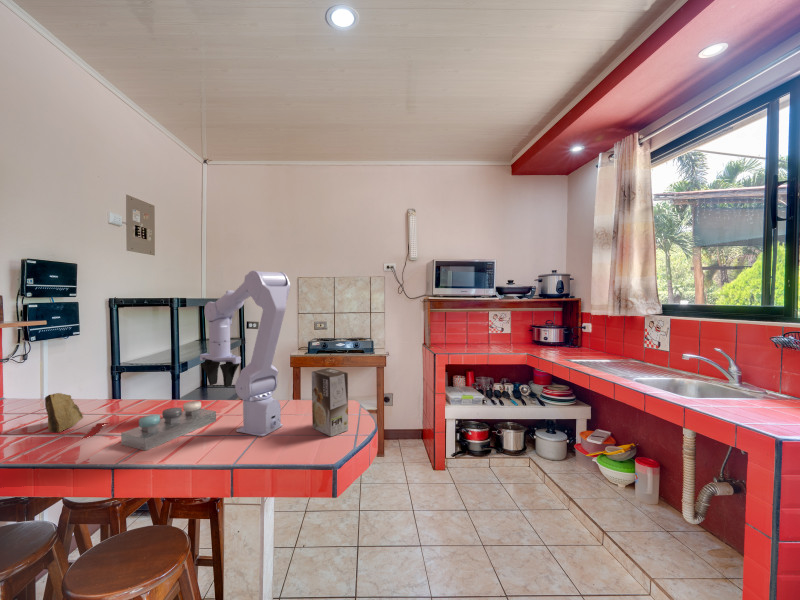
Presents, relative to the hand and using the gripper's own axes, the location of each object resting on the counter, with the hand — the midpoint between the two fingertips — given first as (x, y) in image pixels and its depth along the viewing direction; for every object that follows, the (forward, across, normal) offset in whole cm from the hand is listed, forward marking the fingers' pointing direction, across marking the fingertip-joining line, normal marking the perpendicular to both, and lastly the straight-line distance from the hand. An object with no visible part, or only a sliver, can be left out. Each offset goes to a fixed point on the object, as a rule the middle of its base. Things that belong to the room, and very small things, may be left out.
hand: (220, 385), depth 107 cm
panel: (+9, +2, +14) cm, 17 cm away
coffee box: (+10, -37, -3) cm, 38 cm away
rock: (+10, +35, +21) cm, 42 cm away
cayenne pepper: (+10, +23, +21) cm, 33 cm away
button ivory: (+7, +2, +8) cm, 11 cm away
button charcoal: (+7, +2, +14) cm, 16 cm away
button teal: (+7, +2, +20) cm, 21 cm away
